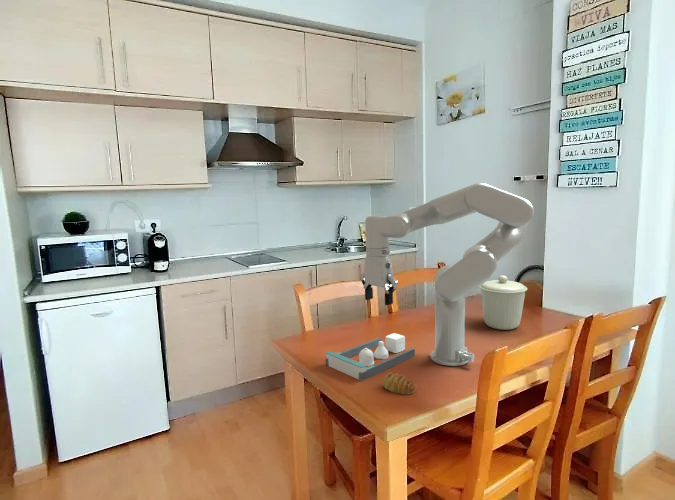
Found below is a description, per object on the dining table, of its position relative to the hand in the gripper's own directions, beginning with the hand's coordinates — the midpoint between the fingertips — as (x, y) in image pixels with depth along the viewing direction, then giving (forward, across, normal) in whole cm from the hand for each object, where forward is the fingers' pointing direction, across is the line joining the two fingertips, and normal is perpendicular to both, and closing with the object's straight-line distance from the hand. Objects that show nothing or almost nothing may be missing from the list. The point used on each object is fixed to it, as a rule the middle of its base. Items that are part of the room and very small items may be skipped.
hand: (378, 301), depth 141 cm
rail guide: (+19, -2, +6) cm, 20 cm away
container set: (+19, -2, +1) cm, 19 cm away
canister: (+20, -12, -57) cm, 61 cm away
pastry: (+19, -21, +13) cm, 32 cm away
